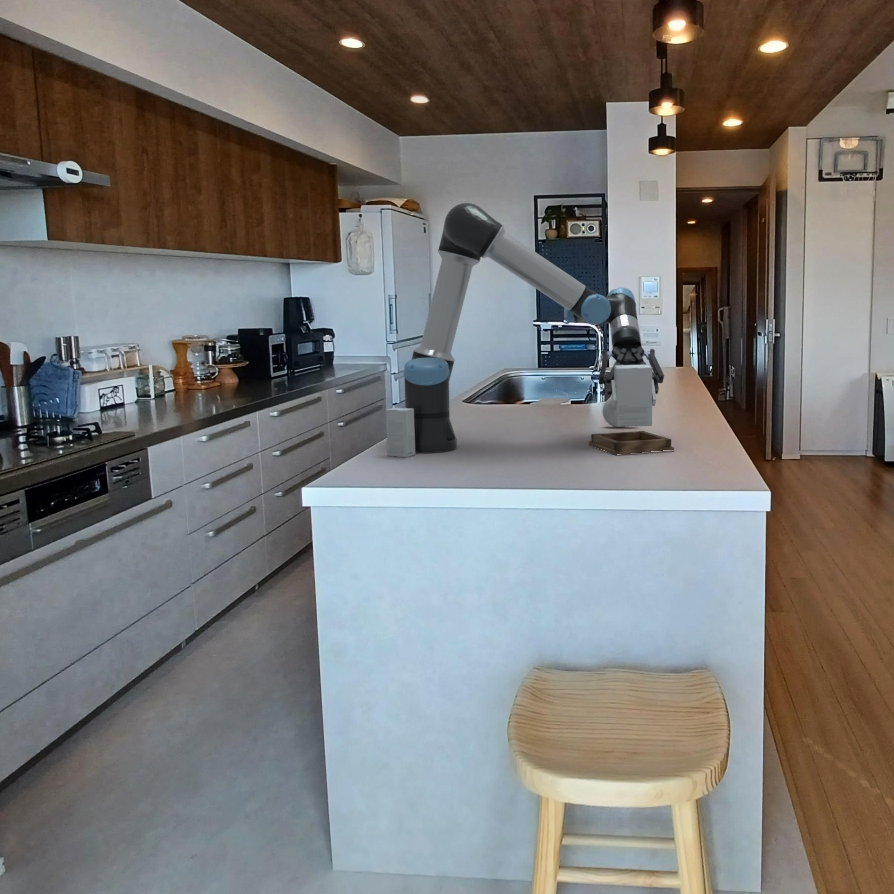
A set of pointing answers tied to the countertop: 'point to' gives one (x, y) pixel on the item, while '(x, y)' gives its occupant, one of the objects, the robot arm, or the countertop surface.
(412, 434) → the skincare box
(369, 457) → the countertop surface
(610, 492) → the countertop surface
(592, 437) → the holder
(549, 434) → the countertop surface
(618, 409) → the supplement box
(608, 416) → the donut
